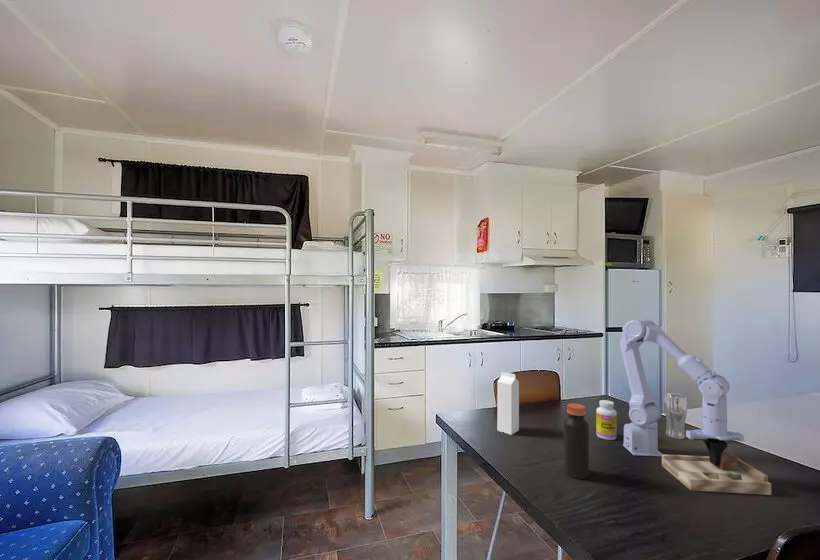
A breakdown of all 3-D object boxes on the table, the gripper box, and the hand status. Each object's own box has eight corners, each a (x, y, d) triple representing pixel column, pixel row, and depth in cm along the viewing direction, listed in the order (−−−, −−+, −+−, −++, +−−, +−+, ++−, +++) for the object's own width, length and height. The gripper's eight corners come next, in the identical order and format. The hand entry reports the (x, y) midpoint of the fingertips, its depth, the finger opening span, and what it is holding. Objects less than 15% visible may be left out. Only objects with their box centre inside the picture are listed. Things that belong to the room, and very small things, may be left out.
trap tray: (690, 490, 102) (690, 473, 102) (661, 465, 116) (661, 451, 116) (771, 494, 100) (771, 477, 100) (731, 469, 114) (731, 454, 114)
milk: (511, 435, 139) (511, 375, 139) (497, 430, 143) (497, 373, 143) (519, 430, 144) (519, 372, 144) (504, 426, 148) (504, 370, 148)
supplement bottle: (598, 439, 135) (598, 403, 135) (594, 432, 142) (594, 398, 142) (619, 441, 134) (619, 405, 134) (613, 434, 140) (613, 399, 140)
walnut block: (721, 469, 108) (722, 455, 108) (711, 462, 112) (712, 449, 112) (736, 470, 108) (737, 457, 108) (725, 464, 112) (726, 450, 112)
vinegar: (574, 481, 107) (574, 410, 107) (558, 469, 113) (558, 403, 114) (594, 477, 109) (594, 408, 109) (577, 466, 115) (577, 401, 115)
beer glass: (687, 441, 134) (686, 399, 134) (663, 436, 138) (663, 395, 138) (687, 435, 140) (687, 394, 140) (664, 430, 144) (664, 391, 144)
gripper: (696, 421, 107) (697, 469, 107) (752, 423, 106) (752, 472, 105) (681, 413, 114) (681, 457, 114) (733, 415, 113) (733, 460, 112)
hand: (714, 464), depth 110 cm, fingers closed, pressing on walnut block
